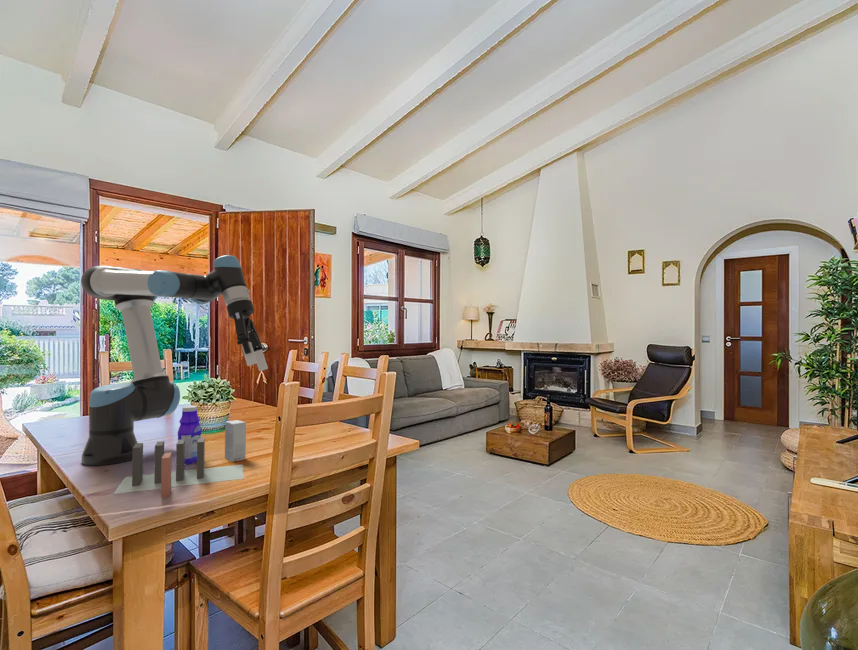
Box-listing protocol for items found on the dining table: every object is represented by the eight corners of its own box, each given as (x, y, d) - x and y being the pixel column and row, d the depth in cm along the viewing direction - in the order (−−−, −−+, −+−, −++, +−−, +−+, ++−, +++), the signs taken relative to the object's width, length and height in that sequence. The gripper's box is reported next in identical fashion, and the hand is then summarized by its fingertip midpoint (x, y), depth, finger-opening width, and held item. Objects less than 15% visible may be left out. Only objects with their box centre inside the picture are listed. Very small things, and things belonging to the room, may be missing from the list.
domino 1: (132, 486, 117) (132, 447, 117) (135, 480, 122) (136, 443, 122) (139, 485, 118) (139, 447, 118) (142, 479, 122) (143, 442, 122)
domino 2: (154, 483, 119) (154, 445, 119) (157, 478, 124) (157, 441, 124) (161, 483, 120) (161, 445, 120) (163, 477, 124) (164, 441, 125)
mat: (113, 495, 112) (113, 493, 112) (125, 478, 125) (125, 477, 125) (243, 479, 124) (243, 478, 124) (242, 465, 137) (242, 464, 137)
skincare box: (246, 460, 143) (246, 422, 143) (232, 462, 140) (233, 424, 140) (237, 456, 147) (237, 419, 147) (224, 459, 144) (224, 421, 144)
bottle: (192, 466, 136) (193, 408, 136) (173, 466, 136) (174, 408, 136) (204, 459, 143) (205, 404, 144) (186, 459, 143) (187, 404, 144)
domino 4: (196, 479, 123) (197, 442, 123) (197, 473, 128) (198, 438, 128) (203, 478, 124) (203, 441, 124) (204, 472, 128) (204, 437, 129)
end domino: (161, 499, 109) (161, 458, 110) (163, 492, 114) (164, 453, 114) (168, 498, 110) (169, 457, 110) (171, 491, 115) (171, 452, 115)
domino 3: (175, 481, 121) (176, 444, 121) (177, 475, 126) (178, 439, 126) (182, 480, 122) (183, 443, 122) (184, 475, 126) (184, 439, 127)
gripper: (239, 287, 129) (260, 357, 126) (260, 309, 153) (278, 368, 150) (212, 295, 128) (233, 366, 124) (238, 316, 152) (256, 375, 148)
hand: (258, 367), depth 137 cm, fingers open, 13 cm apart
